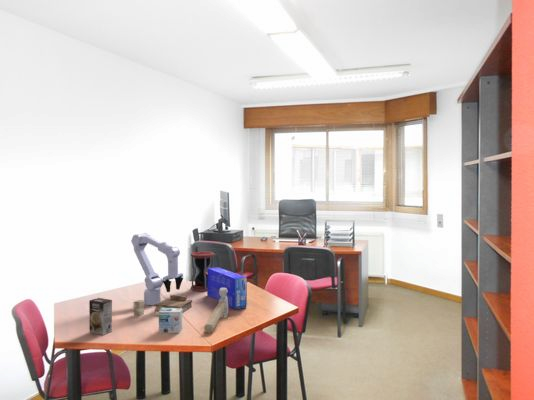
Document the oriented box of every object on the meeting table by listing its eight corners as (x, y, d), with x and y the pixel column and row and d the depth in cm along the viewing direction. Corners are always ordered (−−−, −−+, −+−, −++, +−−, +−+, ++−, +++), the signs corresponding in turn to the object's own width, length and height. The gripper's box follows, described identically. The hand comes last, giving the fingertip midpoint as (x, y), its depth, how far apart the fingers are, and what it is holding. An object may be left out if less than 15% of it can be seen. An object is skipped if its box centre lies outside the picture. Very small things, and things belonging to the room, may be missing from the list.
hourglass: (210, 285, 318) (210, 250, 317) (217, 290, 303) (217, 254, 302) (188, 287, 311) (188, 252, 310) (194, 292, 296) (194, 255, 295)
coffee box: (88, 332, 217) (88, 300, 216) (98, 328, 223) (98, 297, 222) (103, 335, 213) (102, 302, 213) (112, 331, 219) (112, 299, 218)
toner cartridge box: (247, 308, 261) (247, 277, 260) (234, 310, 257) (234, 278, 256) (218, 293, 294) (218, 266, 293) (206, 295, 290) (206, 267, 289)
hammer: (212, 315, 214) (228, 287, 243) (202, 314, 215) (220, 287, 244) (214, 343, 219) (229, 312, 247) (205, 343, 219) (221, 312, 248)
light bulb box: (158, 333, 217) (158, 311, 216) (161, 328, 224) (161, 307, 223) (180, 333, 217) (179, 311, 216) (182, 328, 224) (182, 307, 223)
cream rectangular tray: (148, 314, 247) (148, 309, 247) (167, 304, 267) (167, 299, 267) (174, 317, 242) (174, 311, 242) (191, 307, 262) (191, 302, 262)
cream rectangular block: (133, 315, 245) (133, 301, 244) (137, 313, 249) (137, 299, 248) (139, 316, 244) (139, 302, 243) (143, 314, 247) (143, 300, 247)
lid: (154, 306, 253) (154, 300, 253) (167, 299, 267) (167, 293, 267) (180, 308, 248) (180, 302, 248) (192, 301, 262) (192, 296, 262)
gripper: (168, 270, 254) (168, 294, 255) (186, 267, 266) (186, 289, 267) (160, 269, 258) (160, 292, 259) (178, 265, 270) (178, 287, 271)
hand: (173, 290), depth 263 cm, fingers open, 7 cm apart
